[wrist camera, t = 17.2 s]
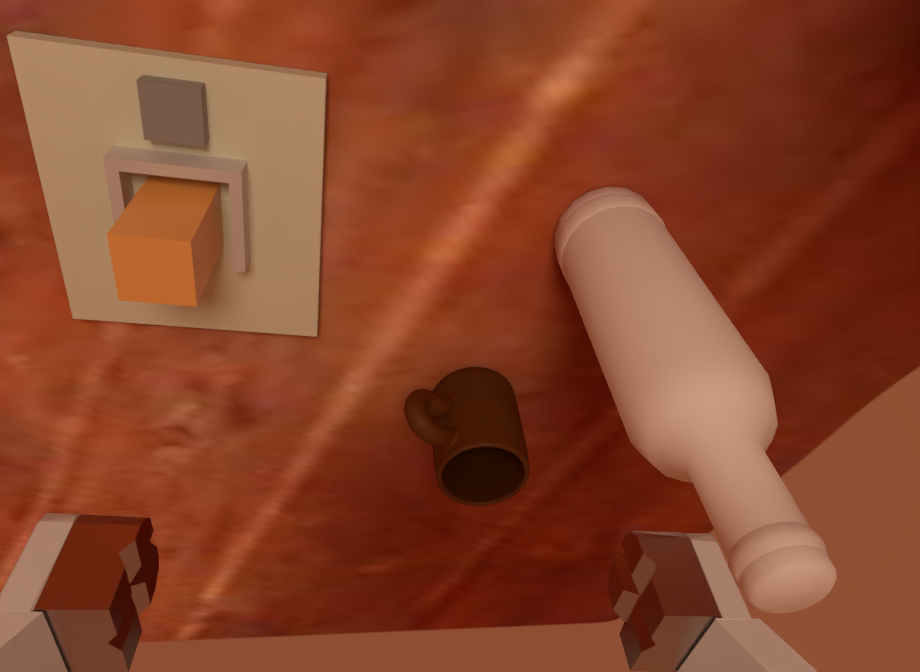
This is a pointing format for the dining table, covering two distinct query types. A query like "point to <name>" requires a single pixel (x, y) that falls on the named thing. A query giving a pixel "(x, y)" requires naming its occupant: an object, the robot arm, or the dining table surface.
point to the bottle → (689, 391)
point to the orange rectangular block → (167, 241)
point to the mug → (472, 435)
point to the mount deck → (180, 172)
